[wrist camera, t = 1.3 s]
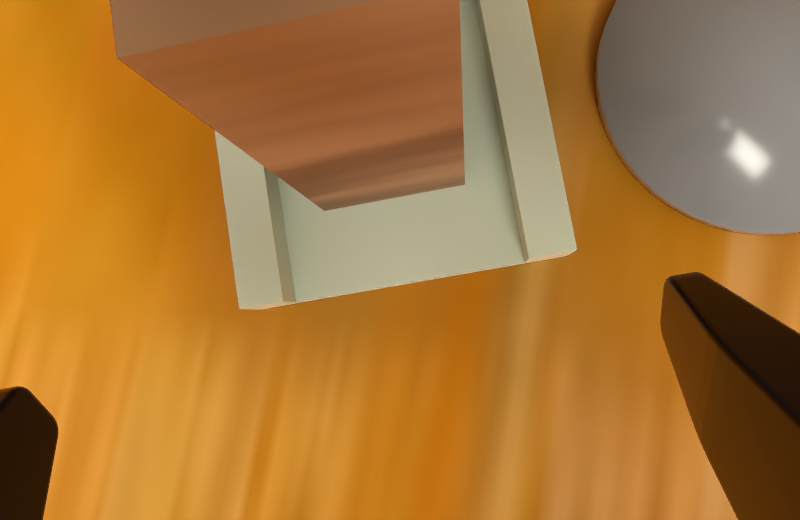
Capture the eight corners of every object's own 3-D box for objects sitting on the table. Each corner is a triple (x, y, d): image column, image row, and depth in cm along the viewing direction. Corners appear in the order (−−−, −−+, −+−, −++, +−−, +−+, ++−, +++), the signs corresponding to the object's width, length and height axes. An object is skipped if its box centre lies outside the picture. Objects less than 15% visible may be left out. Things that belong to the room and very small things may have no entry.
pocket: (567, 255, 21) (577, 249, 19) (259, 309, 22) (239, 308, 20) (508, -42, 22) (511, -76, 20) (218, 22, 23) (195, -5, 21)
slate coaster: (1013, 87, 20) (1030, 79, 20) (750, 303, 20) (758, 302, 20) (771, -140, 22) (779, -153, 21) (529, 64, 22) (531, 57, 21)
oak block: (464, 184, 21) (459, -17, 8) (324, 211, 22) (117, 58, 9) (440, 47, 22) (399, -336, 9) (303, 76, 22) (79, -251, 9)
